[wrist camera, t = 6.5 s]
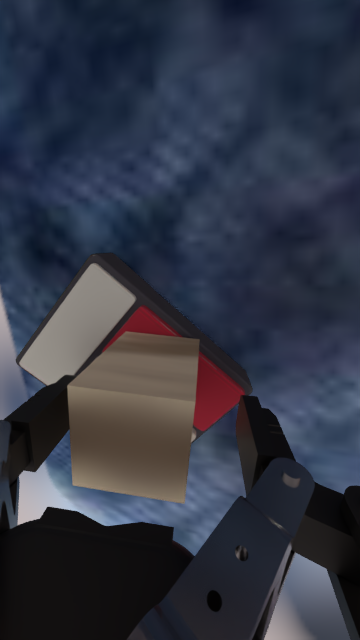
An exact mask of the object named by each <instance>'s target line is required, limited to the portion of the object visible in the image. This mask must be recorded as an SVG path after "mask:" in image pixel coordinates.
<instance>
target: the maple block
mask: <svg viewBox="0 0 360 640" xmlns="http://www.w3.org/2000/svg"><path fill="white" fill-rule="evenodd" d="M199 342H200V339H192V338H183V337H173V336H164V335H155V334H145V333H136V332H127V331H126V332H125V333H124V334H123V335H121V336H120V337H119V338H118V339H117V340H116V341H115V342H114V343H113V344H112V345H111V346H110V347H108V348H107V349H106V350H105V351H104V352H103V353H102V354H101V355H100V356H99V357H98V358H96V359H95V360H94V361H93V362H92V363H91V364H90V365H89V366H88V367H87V368H86V369H85V370H83V371H82V372H81V373H80V374H79V375H78V376H77V377H76V378H75V379H74V380H73V381H72V382H70V383H69V384H68V385H67V389H68V407H69V425H70V443H71V461H72V479H73V485H74V486H80V487H86V488H92V489H99V490H105V491H111V492H117V493H123V494H129V495H135V496H141V497H147V498H153V499H159V500H165V501H171V502H177V503H183V504H184V503H185V493H186V484H187V475H188V466H189V456H190V447H191V438H192V429H193V419H194V410H195V400H196V385H197V371H198V356H199Z"/></svg>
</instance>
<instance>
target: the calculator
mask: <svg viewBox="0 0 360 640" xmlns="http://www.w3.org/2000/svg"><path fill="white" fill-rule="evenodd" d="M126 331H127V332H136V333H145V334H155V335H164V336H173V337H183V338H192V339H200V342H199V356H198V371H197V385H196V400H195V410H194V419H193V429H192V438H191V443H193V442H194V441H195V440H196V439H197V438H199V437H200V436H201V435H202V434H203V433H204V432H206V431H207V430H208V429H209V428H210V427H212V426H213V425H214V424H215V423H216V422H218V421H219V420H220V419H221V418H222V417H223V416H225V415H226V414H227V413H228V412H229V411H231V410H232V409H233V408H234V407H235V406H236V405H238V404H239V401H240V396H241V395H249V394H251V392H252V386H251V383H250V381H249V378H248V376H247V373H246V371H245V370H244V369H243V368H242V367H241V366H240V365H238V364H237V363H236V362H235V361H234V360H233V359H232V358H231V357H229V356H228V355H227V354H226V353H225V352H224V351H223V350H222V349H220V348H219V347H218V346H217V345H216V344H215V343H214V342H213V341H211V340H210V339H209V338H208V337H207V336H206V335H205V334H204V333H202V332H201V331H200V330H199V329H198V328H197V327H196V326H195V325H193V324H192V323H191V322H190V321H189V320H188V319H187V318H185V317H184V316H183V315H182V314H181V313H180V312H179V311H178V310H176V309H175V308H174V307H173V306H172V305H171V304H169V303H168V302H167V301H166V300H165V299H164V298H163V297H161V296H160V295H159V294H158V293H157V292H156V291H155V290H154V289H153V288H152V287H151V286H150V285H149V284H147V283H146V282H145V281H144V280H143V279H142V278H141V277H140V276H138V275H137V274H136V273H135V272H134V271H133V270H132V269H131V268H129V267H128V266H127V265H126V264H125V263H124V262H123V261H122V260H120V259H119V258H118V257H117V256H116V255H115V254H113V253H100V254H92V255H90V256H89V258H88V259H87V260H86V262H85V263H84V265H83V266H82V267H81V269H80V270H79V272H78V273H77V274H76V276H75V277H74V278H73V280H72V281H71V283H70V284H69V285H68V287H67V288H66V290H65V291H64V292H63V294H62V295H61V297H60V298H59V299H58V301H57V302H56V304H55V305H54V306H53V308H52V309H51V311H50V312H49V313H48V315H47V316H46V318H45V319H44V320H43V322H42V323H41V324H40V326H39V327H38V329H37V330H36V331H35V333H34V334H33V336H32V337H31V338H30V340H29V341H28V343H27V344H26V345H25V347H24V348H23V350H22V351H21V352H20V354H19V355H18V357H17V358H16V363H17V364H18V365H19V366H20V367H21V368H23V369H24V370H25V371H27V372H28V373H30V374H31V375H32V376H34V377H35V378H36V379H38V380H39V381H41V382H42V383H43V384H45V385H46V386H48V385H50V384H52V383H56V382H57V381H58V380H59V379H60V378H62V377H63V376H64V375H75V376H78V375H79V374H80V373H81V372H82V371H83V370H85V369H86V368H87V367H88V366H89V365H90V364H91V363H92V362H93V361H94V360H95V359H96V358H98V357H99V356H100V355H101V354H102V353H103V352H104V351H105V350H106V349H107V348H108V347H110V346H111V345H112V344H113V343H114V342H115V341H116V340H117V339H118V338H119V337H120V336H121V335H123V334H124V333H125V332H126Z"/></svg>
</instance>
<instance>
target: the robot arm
mask: <svg viewBox="0 0 360 640" xmlns="http://www.w3.org/2000/svg"><path fill="white" fill-rule="evenodd" d="M76 377H77V376H75V375H64V376H63V377H62V378H60V379H59V380H58V381H57V382H56V383H52V384H50V385H48V386H46V387H44V388H42V389H41V390H40V391H38V392H37V393H36V394H35V395H34V396H32V397H31V398H30V399H28V401H27V402H25V403H24V404H22V405H21V406H20V407H19V408H17V409H16V410H15V411H14V412H12V413H11V414H10V415H9V416H8V417H6V418H5V419H4V420H0V640H264V638H265V635H266V632H267V629H268V627H269V624H270V620H271V618H272V614H273V611H274V609H275V606H276V603H277V601H278V598H279V595H280V593H281V590H282V587H283V585H284V582H285V580H286V577H287V575H288V572H289V569H290V567H291V564H292V561H293V558H294V556H295V554H296V553H298V554H300V555H301V556H303V557H305V558H307V559H309V560H311V561H313V562H315V563H317V564H319V565H321V566H322V567H325V568H326V569H327V571H328V574H329V577H330V580H331V583H332V586H333V589H334V592H335V595H336V598H337V600H338V604H339V607H340V610H341V612H342V615H343V618H344V621H345V624H346V627H347V630H348V633H349V636H350V639H351V640H360V486H349V487H348V488H346V490H345V493H344V494H341V493H339V492H336V491H334V490H331V489H329V488H326V487H324V486H322V485H320V484H318V483H316V482H314V480H313V477H312V476H311V474H310V473H309V472H308V470H307V469H306V468H305V467H303V466H302V465H301V464H299V463H298V462H296V460H295V458H294V456H293V453H292V451H291V449H290V447H289V444H288V442H287V440H286V438H285V435H284V434H283V431H282V428H281V427H280V424H279V422H278V419H277V417H276V416H275V415H274V414H273V413H272V412H271V411H270V410H269V409H266V408H261V405H260V402H259V400H258V397H257V396H248V395H241V396H240V401H239V407H238V414H237V421H236V437H237V443H238V449H239V455H240V461H241V467H242V473H243V479H244V484H245V490H246V496H247V497H246V498H244V497H243V496H240V497H238V498H237V500H236V501H235V502H234V503H233V505H232V506H231V508H230V509H229V510H228V512H227V513H226V514H225V516H224V517H223V519H222V520H221V521H220V523H219V524H218V525H217V527H216V528H215V529H214V531H213V532H212V534H211V535H210V536H209V538H208V539H207V540H206V542H205V543H204V545H203V546H202V547H201V549H200V550H199V551H198V553H197V554H196V555H195V556H194V555H193V554H192V553H190V552H189V551H188V550H187V549H186V548H185V547H183V546H182V545H180V544H179V543H177V542H175V541H173V530H174V527H169V526H163V525H157V524H151V523H144V522H138V523H130V524H122V525H114V526H104V525H102V524H100V523H98V522H96V521H94V520H92V519H91V518H89V517H87V516H85V515H83V514H81V513H79V512H78V511H71V510H64V509H59V508H52V507H47V508H46V510H45V512H44V513H43V515H42V516H41V518H40V519H37V520H33V521H29V522H26V523H23V524H20V525H18V526H17V520H18V500H19V475H20V474H21V472H23V470H25V471H32V472H36V471H37V469H38V468H39V467H40V465H41V464H42V463H43V462H44V461H45V459H46V458H47V457H48V456H49V454H50V453H51V452H52V450H53V449H54V448H55V447H56V445H57V444H58V443H59V442H60V440H61V439H62V438H63V436H64V435H65V434H66V433H67V431H68V430H69V429H70V425H69V407H68V389H67V385H68V384H69V383H70V382H72V381H73V380H74V379H75V378H76Z"/></svg>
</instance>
